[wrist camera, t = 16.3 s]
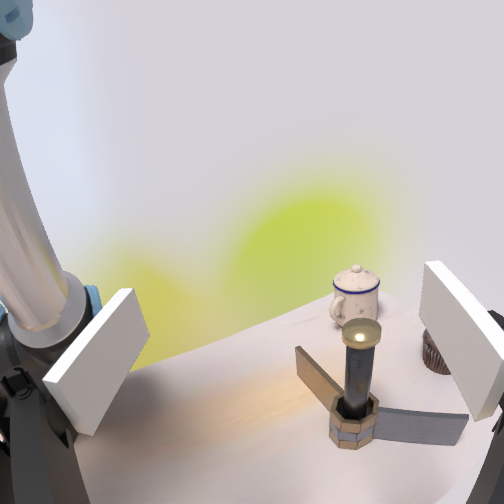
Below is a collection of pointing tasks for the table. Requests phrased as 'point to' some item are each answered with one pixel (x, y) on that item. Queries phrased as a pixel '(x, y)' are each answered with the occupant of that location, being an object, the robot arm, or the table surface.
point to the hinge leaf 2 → (409, 427)
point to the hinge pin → (358, 364)
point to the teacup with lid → (355, 295)
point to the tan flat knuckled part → (334, 400)
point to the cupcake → (433, 356)
